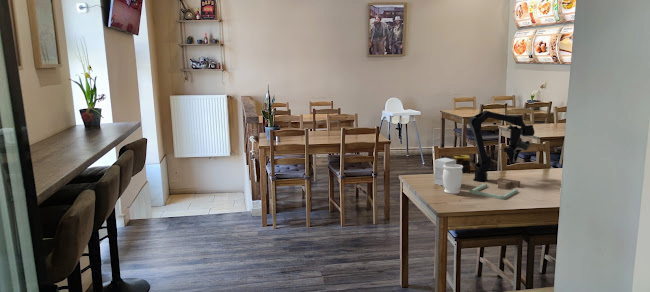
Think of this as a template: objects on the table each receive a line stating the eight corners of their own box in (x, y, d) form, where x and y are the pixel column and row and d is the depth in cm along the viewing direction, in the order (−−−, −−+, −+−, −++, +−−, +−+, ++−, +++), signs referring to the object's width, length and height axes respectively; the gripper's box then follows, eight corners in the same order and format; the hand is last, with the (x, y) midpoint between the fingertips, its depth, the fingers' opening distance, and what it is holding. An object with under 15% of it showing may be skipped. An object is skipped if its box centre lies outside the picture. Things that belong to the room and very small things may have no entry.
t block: (499, 182, 284) (499, 177, 283) (520, 186, 276) (520, 181, 275) (491, 186, 275) (491, 181, 274) (511, 190, 267) (512, 185, 266)
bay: (469, 193, 263) (469, 190, 262) (484, 186, 276) (484, 183, 276) (503, 199, 250) (503, 196, 250) (517, 192, 264) (517, 189, 264)
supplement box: (443, 181, 288) (444, 157, 285) (455, 184, 280) (456, 159, 278) (433, 184, 282) (434, 159, 280) (445, 187, 275) (446, 161, 273)
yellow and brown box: (470, 173, 308) (470, 158, 306) (453, 172, 310) (454, 157, 308) (468, 169, 317) (469, 154, 316) (453, 169, 320) (453, 154, 318)
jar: (462, 190, 269) (463, 164, 266) (461, 195, 259) (462, 168, 256) (443, 188, 272) (444, 163, 269) (441, 193, 262) (442, 167, 260)
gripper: (523, 140, 273) (521, 166, 276) (534, 135, 287) (532, 161, 290) (503, 137, 281) (502, 163, 283) (516, 134, 294) (514, 158, 297)
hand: (513, 162), depth 288 cm, fingers open, 5 cm apart
